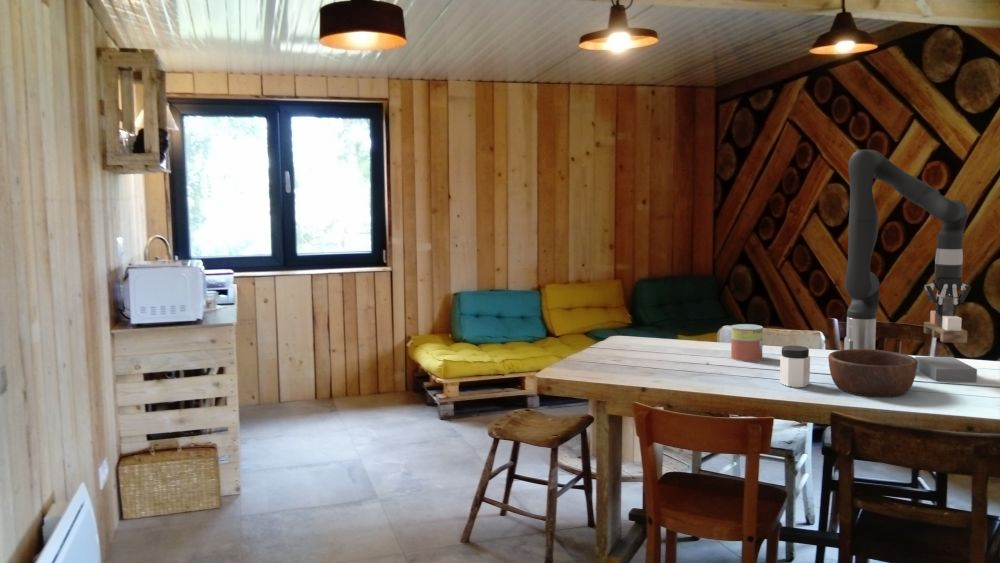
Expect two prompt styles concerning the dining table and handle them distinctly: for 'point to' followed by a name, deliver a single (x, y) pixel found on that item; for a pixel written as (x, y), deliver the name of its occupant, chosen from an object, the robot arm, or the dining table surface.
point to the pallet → (942, 333)
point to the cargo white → (951, 323)
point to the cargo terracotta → (934, 318)
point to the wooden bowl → (872, 372)
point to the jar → (795, 366)
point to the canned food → (746, 342)
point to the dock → (946, 369)
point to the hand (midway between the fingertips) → (945, 315)
